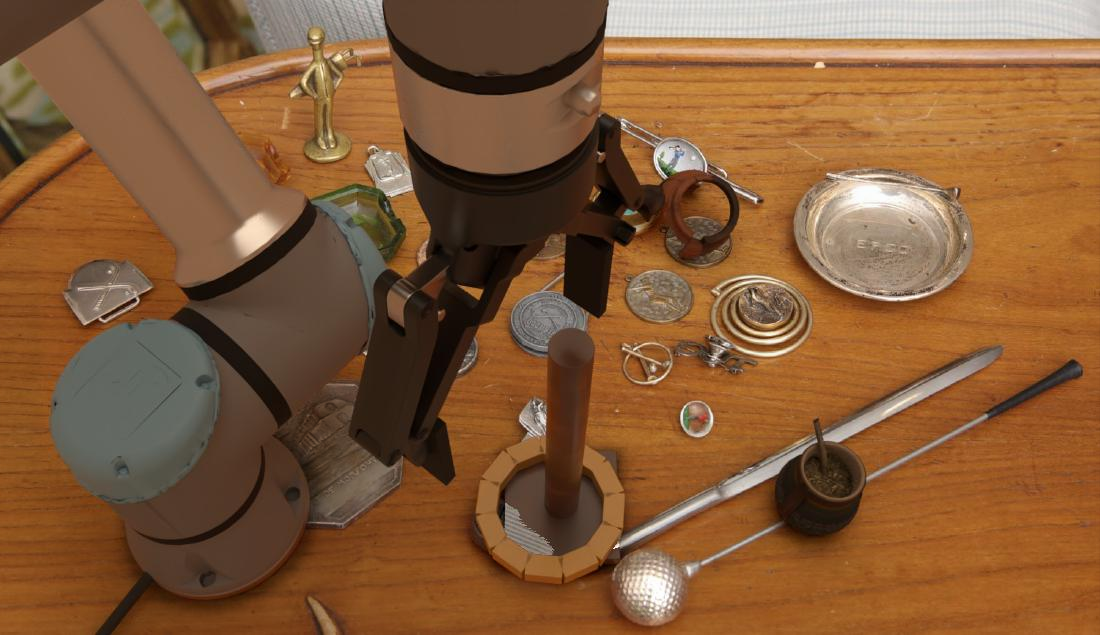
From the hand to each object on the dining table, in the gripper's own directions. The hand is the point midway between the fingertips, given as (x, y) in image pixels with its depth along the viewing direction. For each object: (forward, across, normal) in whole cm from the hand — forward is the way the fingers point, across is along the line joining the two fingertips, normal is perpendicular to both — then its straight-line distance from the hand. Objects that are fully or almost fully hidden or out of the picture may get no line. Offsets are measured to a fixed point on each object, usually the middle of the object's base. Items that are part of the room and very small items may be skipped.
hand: (512, 380), depth 53 cm
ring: (+30, +4, 0) cm, 30 cm away
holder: (+32, +6, 0) cm, 32 cm away
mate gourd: (+32, +20, -17) cm, 41 cm away
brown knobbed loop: (+32, +39, +10) cm, 51 cm away
